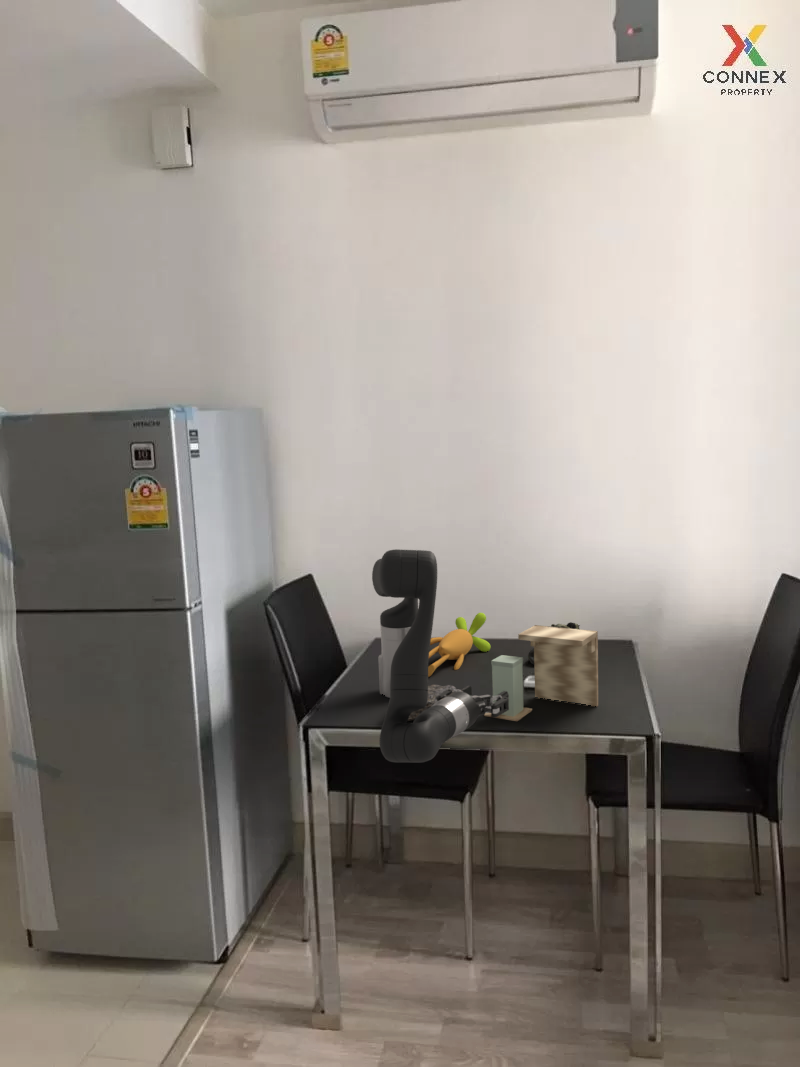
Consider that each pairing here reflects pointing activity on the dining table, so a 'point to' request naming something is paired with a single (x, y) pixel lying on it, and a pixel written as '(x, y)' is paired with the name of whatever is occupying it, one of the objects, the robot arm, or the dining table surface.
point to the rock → (431, 698)
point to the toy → (458, 642)
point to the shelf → (564, 663)
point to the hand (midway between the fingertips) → (487, 692)
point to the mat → (515, 718)
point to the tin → (509, 681)
